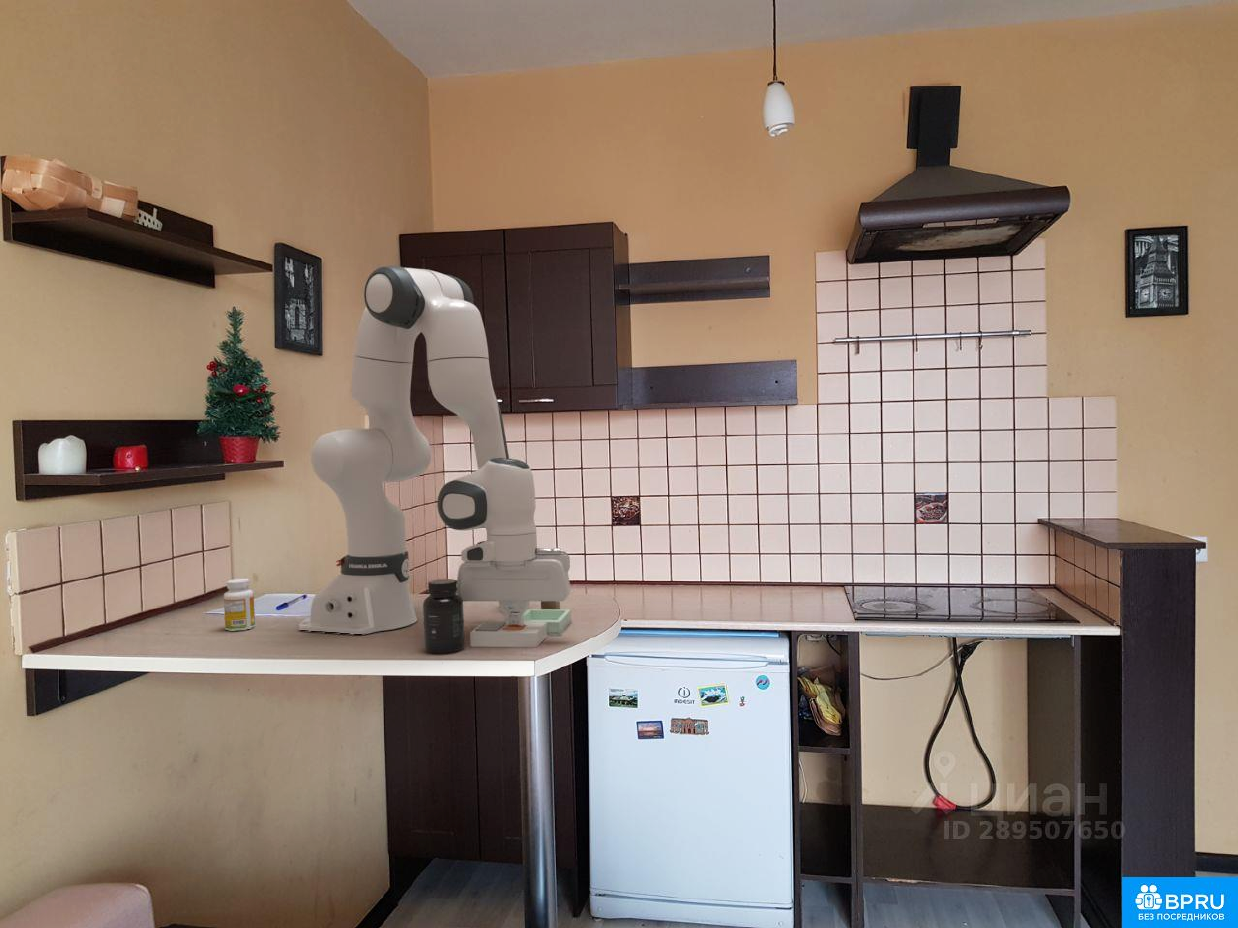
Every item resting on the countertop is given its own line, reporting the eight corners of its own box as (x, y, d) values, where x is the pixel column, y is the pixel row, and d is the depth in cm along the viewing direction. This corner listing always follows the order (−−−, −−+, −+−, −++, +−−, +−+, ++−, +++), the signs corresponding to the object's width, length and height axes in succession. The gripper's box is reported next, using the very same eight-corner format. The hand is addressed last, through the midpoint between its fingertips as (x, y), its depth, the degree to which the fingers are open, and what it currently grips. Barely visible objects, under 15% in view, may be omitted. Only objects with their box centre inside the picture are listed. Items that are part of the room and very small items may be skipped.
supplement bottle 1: (244, 624, 167) (242, 576, 166) (261, 627, 164) (258, 578, 164) (219, 630, 162) (217, 581, 162) (236, 633, 159) (234, 583, 159)
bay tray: (514, 635, 152) (513, 621, 152) (528, 621, 163) (528, 609, 163) (559, 635, 151) (559, 622, 151) (571, 621, 162) (570, 609, 162)
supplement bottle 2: (416, 651, 142) (413, 583, 142) (443, 642, 148) (441, 576, 148) (445, 656, 139) (443, 586, 138) (472, 646, 145) (470, 579, 144)
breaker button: (504, 639, 147) (504, 627, 147) (509, 635, 150) (508, 623, 150) (520, 639, 146) (520, 627, 146) (525, 635, 149) (524, 623, 149)
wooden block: (541, 617, 166) (540, 577, 166) (544, 614, 169) (543, 574, 169) (556, 617, 166) (555, 577, 165) (560, 614, 169) (558, 574, 169)
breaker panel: (470, 646, 145) (469, 630, 145) (484, 635, 153) (483, 620, 153) (536, 647, 143) (536, 631, 143) (547, 635, 151) (546, 620, 151)
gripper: (572, 545, 149) (575, 621, 149) (464, 546, 152) (466, 621, 152) (565, 550, 143) (568, 629, 143) (452, 551, 145) (455, 629, 146)
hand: (515, 625), depth 148 cm, fingers closed
